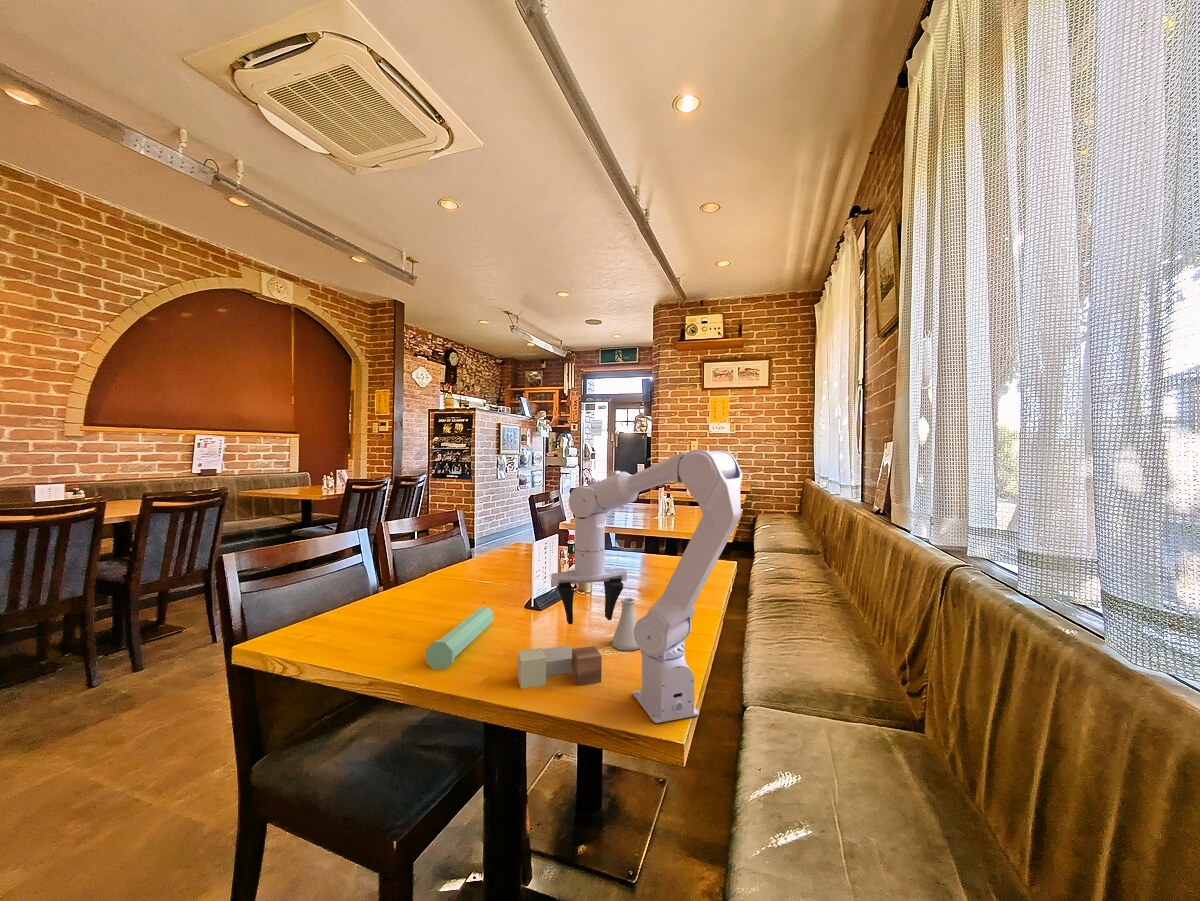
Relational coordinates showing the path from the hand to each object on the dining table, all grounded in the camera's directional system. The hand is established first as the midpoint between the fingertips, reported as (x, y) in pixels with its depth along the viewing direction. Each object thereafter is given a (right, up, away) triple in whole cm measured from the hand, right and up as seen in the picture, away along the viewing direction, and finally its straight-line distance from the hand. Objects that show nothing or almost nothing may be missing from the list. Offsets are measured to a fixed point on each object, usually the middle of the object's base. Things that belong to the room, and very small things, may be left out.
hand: (589, 620), depth 89 cm
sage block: (-11, -10, -3) cm, 15 cm away
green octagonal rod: (-28, -11, +14) cm, 33 cm away
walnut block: (0, -10, -1) cm, 10 cm away
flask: (+8, -11, +14) cm, 19 cm away
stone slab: (-6, -11, +3) cm, 13 cm away
